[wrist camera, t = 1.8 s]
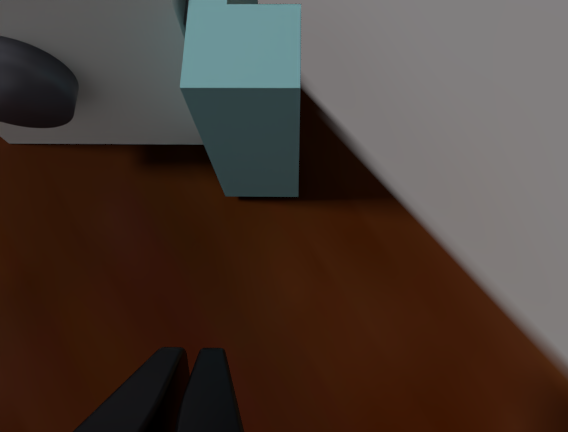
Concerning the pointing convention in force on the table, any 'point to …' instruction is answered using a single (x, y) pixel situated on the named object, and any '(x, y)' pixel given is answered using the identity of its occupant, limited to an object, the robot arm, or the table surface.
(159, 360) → the robot arm
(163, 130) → the camera body
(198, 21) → the side door
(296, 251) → the table surface
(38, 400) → the table surface
